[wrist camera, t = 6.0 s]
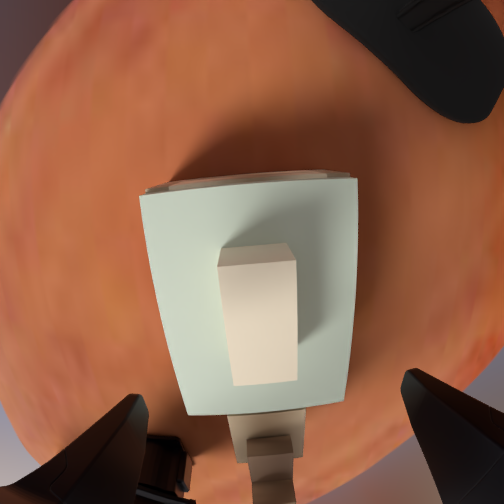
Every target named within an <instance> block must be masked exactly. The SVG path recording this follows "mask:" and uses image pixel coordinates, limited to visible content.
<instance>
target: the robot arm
mask: <svg viewBox="0 0 504 504" xmlns="http://www.w3.org/2000/svg"><path fill="white" fill-rule="evenodd" d="M401 394H402V398H403V401H404V404H405V407H406V410H407V413H408V416H409V420H410V423H411V426H412V428H413V431H414V433H415V435H416V437H417V440H418V442H419V445H420V447H421V449H422V452H423V454H424V457H425V459H426V461H427V464H428V466H429V469H430V471H431V474H432V476H433V479H434V481H435V484H436V487H437V489H438V492H439V494H440V497H441V500H442V502H443V504H504V413H502V412H500V411H498V410H496V409H494V408H492V407H489V406H488V405H486V404H484V403H483V402H481V401H479V400H477V399H475V398H473V397H471V396H469V395H467V394H465V393H463V392H461V391H459V390H458V389H456V388H454V387H452V386H450V385H448V384H446V383H444V382H442V381H440V380H439V379H437V378H435V377H433V376H431V375H429V374H427V373H425V372H424V371H422V370H420V369H418V368H413V369H409V370H407V371H406V372H405V374H404V378H403V381H402V385H401ZM148 418H149V412H148V409H147V406H146V404H145V401H144V399H143V397H142V395H140V394H129V395H127V396H126V397H125V398H124V399H123V400H122V401H120V402H119V403H118V404H117V405H116V406H115V407H113V408H112V409H111V410H110V411H109V412H108V413H106V414H105V415H104V416H103V417H102V418H100V419H99V420H98V421H97V422H96V423H95V424H93V425H92V426H91V427H90V428H89V429H87V430H86V431H85V432H84V433H83V434H81V435H80V436H79V437H78V438H77V439H75V440H74V441H73V442H72V443H71V444H69V445H68V446H67V447H66V448H65V449H63V450H62V451H61V452H60V453H58V454H57V455H56V456H54V457H53V458H52V459H51V460H49V461H48V462H47V463H45V464H44V465H42V466H41V467H39V468H38V469H36V470H35V471H33V472H31V473H30V474H28V475H27V476H25V477H24V478H22V479H20V480H18V481H17V482H15V483H13V484H10V485H7V486H2V487H0V504H196V500H192V499H190V500H189V499H185V498H183V497H184V492H188V491H189V490H190V481H191V472H192V462H191V459H190V457H189V455H188V453H187V452H186V451H185V450H184V447H183V445H182V442H181V440H180V439H179V438H177V437H165V436H150V435H147V427H148Z"/></svg>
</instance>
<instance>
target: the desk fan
mask: <svg viewBox="0 0 504 504" xmlns="http://www.w3.org/2000/svg"><path fill="white" fill-rule="evenodd" d="M312 1H313V2H314V3H315V4H316V6H317V7H318V8H320V9H321V10H322V11H323V12H324V13H325V14H326V15H327V16H328V17H330V18H331V19H332V20H333V21H335V22H336V23H337V24H338V25H340V26H341V27H342V28H343V29H345V30H346V31H347V32H348V33H350V34H351V35H352V36H353V37H355V38H356V39H357V40H358V41H359V42H361V43H362V44H363V45H364V46H365V47H366V48H368V49H369V50H370V51H371V52H372V53H373V54H374V55H375V56H376V57H378V58H379V59H380V60H381V61H382V62H383V63H384V64H385V65H386V66H387V67H388V68H389V69H390V70H391V71H392V72H393V73H394V74H395V75H396V76H397V77H398V78H399V79H400V80H401V81H402V82H403V83H404V84H405V85H406V86H407V87H408V88H409V89H410V90H411V91H412V92H413V93H414V94H415V95H416V96H417V97H418V98H419V99H420V100H422V101H423V102H424V103H425V104H426V105H428V106H429V107H430V108H432V109H433V110H434V111H436V112H437V113H439V114H440V115H442V116H444V117H446V118H448V119H450V120H453V121H456V122H460V123H476V122H480V121H482V120H484V119H485V118H487V117H488V116H489V114H490V113H491V111H492V109H493V107H494V105H495V104H496V102H497V100H498V98H499V96H500V94H501V92H502V90H503V88H504V37H503V34H502V32H501V30H500V28H499V26H498V24H497V23H496V21H495V19H494V18H493V16H492V15H491V13H490V12H489V10H488V9H487V8H486V6H485V5H484V4H483V3H482V1H481V0H312Z"/></svg>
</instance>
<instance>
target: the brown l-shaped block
mask: <svg viewBox="0 0 504 504" xmlns="http://www.w3.org/2000/svg"><path fill="white" fill-rule="evenodd" d="M246 441H247V459H248V465H249V470H250V476H251V481H252V495H253V504H296V498H295V491H294V485H293V456H294V452H293V446H292V441H291V435H288V436H279V437H270V438H258V439H246Z"/></svg>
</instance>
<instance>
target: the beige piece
mask: <svg viewBox="0 0 504 504" xmlns="http://www.w3.org/2000/svg"><path fill="white" fill-rule="evenodd" d="M332 177H350V173H346V172H339V171H331V170H298V171H279V172H264V173H250V174H238V175H227V176H217V177H207V178H198V179H189V180H181V181H173V182H167V183H164V184H161V185H157V186H154V187H151V188H148V189H145V192H146V193H153V192H161V191H168V190H176V189H185V188H194V187H203V186H212V185H223V184H233V183H245V182H258V181H272V180H288V179H307V178H332ZM305 415H306V408H305V407H304V408H296V409H288V410H280V411H270V412H259V413H245V414H227V418H228V423H229V427H230V432H231V437H232V441H233V446H234V450H235V455H236V459H237V463H248V459H247V441H246V439H258V438H270V437H279V436H288V435H291V441H292V446H293V452H294V456H293V458H299V457H303V446H304V432H305Z"/></svg>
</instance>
